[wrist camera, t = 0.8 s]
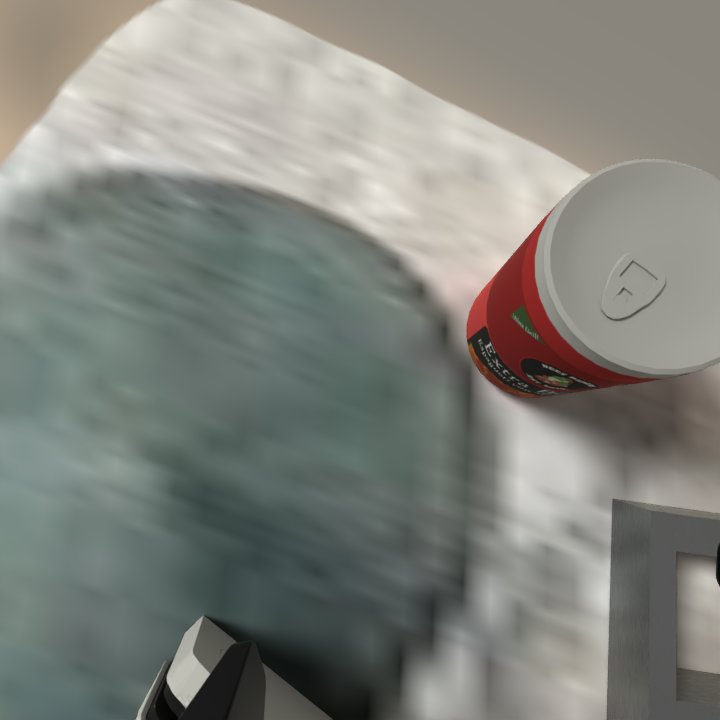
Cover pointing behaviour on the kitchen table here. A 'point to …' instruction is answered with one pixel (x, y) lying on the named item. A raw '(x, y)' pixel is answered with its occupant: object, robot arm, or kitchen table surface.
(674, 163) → the canned food
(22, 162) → the kitchen table surface
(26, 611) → the kitchen table surface
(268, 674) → the game console
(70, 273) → the kitchen table surface
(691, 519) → the grey cinder block
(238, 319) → the kitchen table surface
